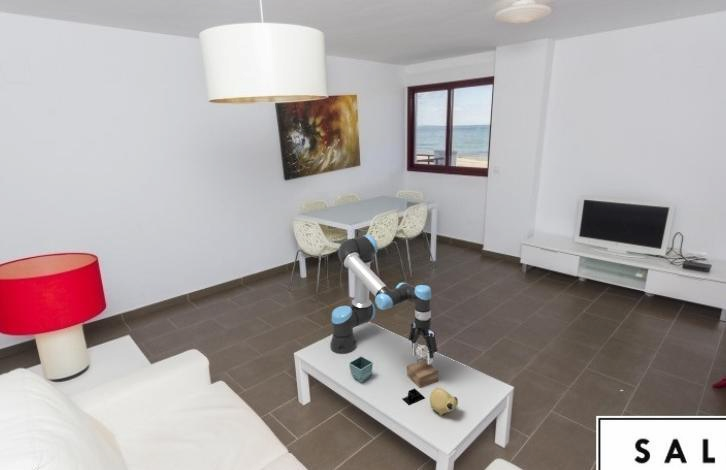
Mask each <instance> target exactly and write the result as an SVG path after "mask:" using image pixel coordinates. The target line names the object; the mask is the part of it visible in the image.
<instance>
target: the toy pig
mask: <svg viewBox="0 0 726 470" xmlns="http://www.w3.org/2000/svg"><path fill="white" fill-rule="evenodd" d="M429 403H430V407H429V408H431V409H433V410H434V411H436V412H437V413H439V415H440V416H443V415H444V414H447V413H449V412H452V411H454V410H456V408H457V407H458V404H459V401H458V398H457V397H456V396H452V395H451V394H450V393H449V392H448V391H446V390H445V389H443V388H441V387H436V388H435V389H433V390H432V392H431V393H430V395H429Z"/></svg>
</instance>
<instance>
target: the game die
mask: <svg viewBox="0 0 726 470" xmlns="http://www.w3.org/2000/svg"><path fill="white" fill-rule="evenodd" d="M417 345H418V346H417V348H416V350H415V351H414V352H415V353H414V354H416V355H415V356H416V359H417V360H416V362H419V361H423V360H426V361H427V362H428V352H429V350H428V347H427V344H419V343H418V344H417Z"/></svg>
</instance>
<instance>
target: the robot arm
mask: <svg viewBox="0 0 726 470" xmlns="http://www.w3.org/2000/svg"><path fill="white" fill-rule="evenodd" d="M338 247H339V248H338V252H337V253H338V258H339V260H340V262H341V264H342V265H343V266H344V267H345V268H348V269H349V270H350V271H351V272H352V273H353V274H354V292H353V293H354V295H353V296H354V298H353V299H352V300H351V306H348V305H340V306H337V307H335V308H334V309H333V310H332V312H331V328H332V337H331V341H330V346H329V347H330V350H331V351H332V352H334V353H336V354H343V355H344V354H348V353H351V352H353V351H355V350H356V348H357V340H356V338H355V335H354V333H353V332H354V330H353V329H354V328H356V327H359V326H361V325H364V324H367V323H369V322H371V321H372V320H373V319H374V318H375V316H376V308H375V305H374V303H375V304H376V307H377V308H378V310H381V311H384V310H388V309H391V308H393V307H396V306H397V305H400V304H403V303H406V302H410V303H412V304H414V322H413V323H410V332H409V337H408V340H409V341H411V348H412V356H414V357H415V356H416V354H414V353H415V352H414V351H415V350H416V348H417V346H418V345H419V342H418V339H419V338H420V336H422V337H423V338H422V339H424V341H425V343H426V344H425V345H427V347H428V350H429V352H428V359H427V360H428V361H427V362H428V364H430V365H432V364H433V361H434V360H433V358H434V354H435V353H437V352H438V347H437V341H436V340H437V339H436V332H435V331H432V330H431V325H432V324H431V323H432V291H431V290H432V289H431V287H430V286H429V285H425V284H420V285H418V284H417V285H416V286H414V285H411V284H409V283H406V282H403V281H402V282H400V283H398V284H397V285H396V287H395V288H393V289H390V288H389V287H388V286H387V285H386V284H385V283H384V282H383V281H382V280H381V279H380V278H379V277H378V275H376V273H375V272H374V271H373V270H372V269H371V263H372V262H373V261H374V256H375V255H376V254H377V252H378V251H379V249H378V243H377V242H376V240H375V238H374V237H373V236H372V235H369V234H367V235H361V236H357V237H353V238H346V239H345V240H344V241H342V242H341V243H340V245H339V246H338ZM370 293H371V294H372V295H373V296H374V297H375V299H374V303H373V302H372V300H370ZM417 344H418V345H417Z"/></svg>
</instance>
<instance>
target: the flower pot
mask: <svg viewBox="0 0 726 470" xmlns="http://www.w3.org/2000/svg"><path fill="white" fill-rule="evenodd" d="M348 364H349V370H350V374H351V376H353V378H354V379H356V380H357V381H359V382H360V383H363V382H364V381H366V380H368V379H369V378H370V376H371V374H372V371H373V365H374V361H372V360H369V359H368V358H366V357H364V356H362V355H361V356H359V357H357V358H355V359H353V360H351V361H350V362H348Z"/></svg>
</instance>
